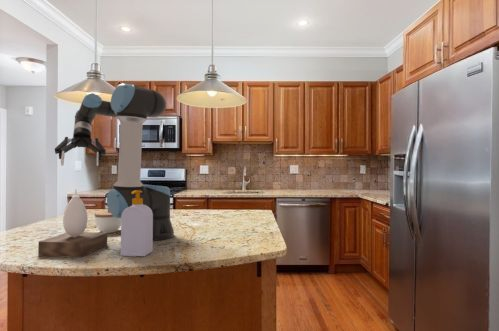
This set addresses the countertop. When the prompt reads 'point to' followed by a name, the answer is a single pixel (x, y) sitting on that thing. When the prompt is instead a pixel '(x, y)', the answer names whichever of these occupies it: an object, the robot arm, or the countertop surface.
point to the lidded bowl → (107, 222)
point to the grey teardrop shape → (75, 217)
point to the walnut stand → (72, 244)
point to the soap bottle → (137, 228)
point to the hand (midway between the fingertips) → (80, 163)
